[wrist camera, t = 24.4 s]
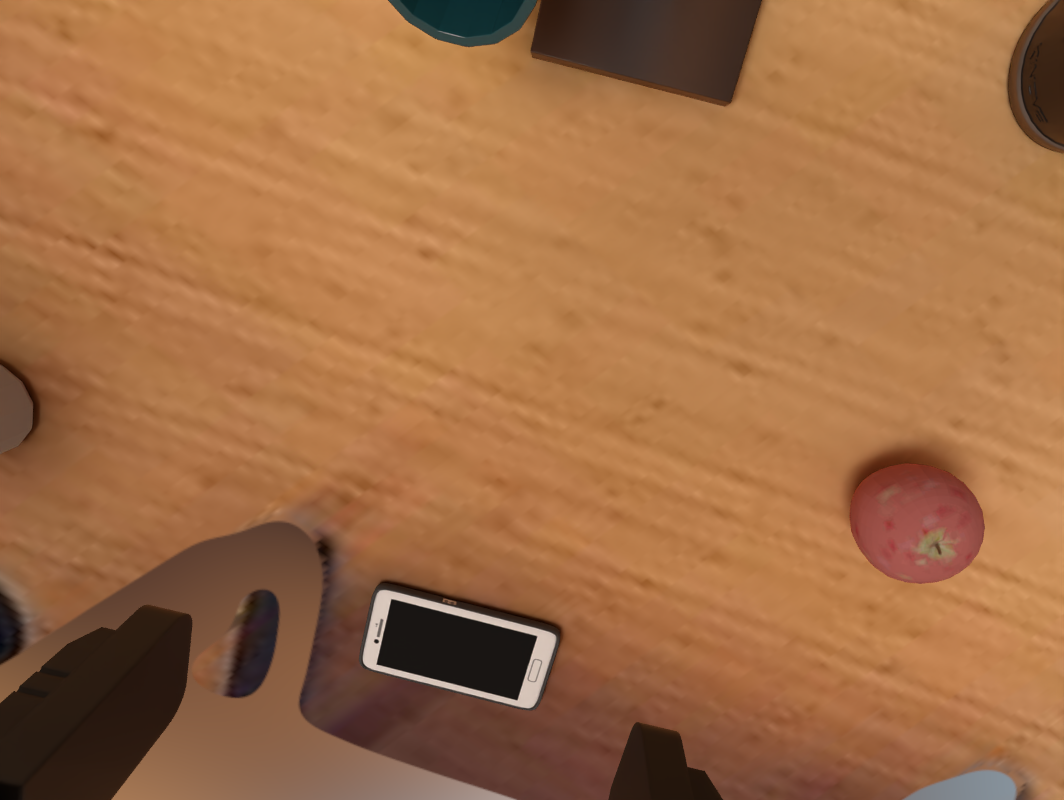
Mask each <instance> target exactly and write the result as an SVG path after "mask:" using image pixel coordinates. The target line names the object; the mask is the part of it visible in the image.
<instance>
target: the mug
mask: <svg viewBox="0 0 1064 800" xmlns="http://www.w3.org/2000/svg"><path fill="white" fill-rule="evenodd" d="M388 1H389V2H390V3H391V4H392V5H393V6H394V7H395V9H396V10H397V11H398V12H399V13H400V14H401V15H402V16H403V17H404V18H405V20H406V21H408V22H409V23H410V24H412V25H414V26H415V27H417V28H419V29H420V30H422V31H423V32H425V33H427V34H428V35H430V36H432V37H433V38H435V39H437V40H441V41H445V42H449V43H452V44H456V45H460V46H464V47H474V46H482V45H491V44H496V43H499V42H500V41H502V40H503V39H505V38H507V37H508V36H510V35H512V34H513V33H515V32H517V31H518V30H520V29H521V28H522V26H523V25H524V23H525V21H526V20H527V18H528V17H529V15H530V13H531V12H532V10H533V9H534V7H535V5H536V3H537V0H388Z"/></svg>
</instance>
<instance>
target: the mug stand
mask: <svg viewBox="0 0 1064 800" xmlns="http://www.w3.org/2000/svg"><path fill="white" fill-rule="evenodd" d="M761 1H762V0H541V5H540V9H539V14H538V19H537V23H536V28H535V33H534V37H533V42H532V47H531V55H532V57H533V58H537V59H541V60H545V61H549V62H552V63H556V64H560V65H564V66H568V67H572V68H576V69H580V70H584V71H588V72H592V73H596V74H600V75H604V76H608V77H611V78H615V79H619V80H623V81H627V82H631V83H635V84H639V85H643V86H647V87H651V88H655V89H659V90H663V91H667V92H670V93H674V94H678V95H682V96H686V97H690V98H694V99H698V100H702V101H706V102H710V103H714V104H718V105H722V106H726V105H728V104H729V103H731V101H732V97H733V94H734V91H735V87H736V84H737V81H738V77H739V74H740V71H741V68H742V64H743V61H744V58H745V54H746V51H747V48H748V44H749V41H750V38H751V34H752V31H753V28H754V25H755V21H756V18H757V15H758V11H759V8H760V5H761Z"/></svg>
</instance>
